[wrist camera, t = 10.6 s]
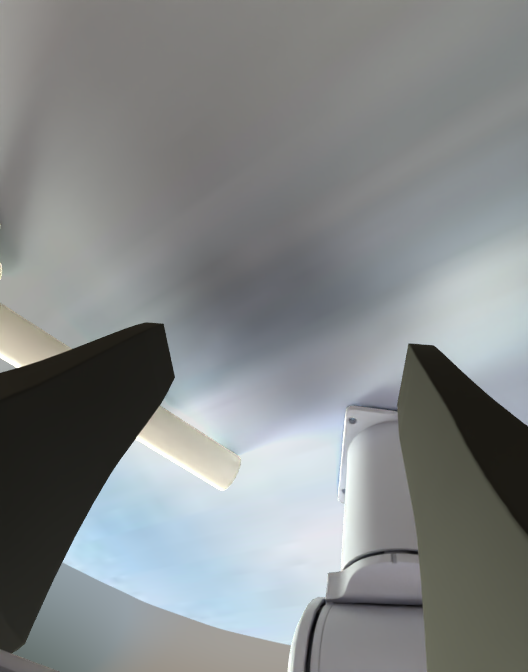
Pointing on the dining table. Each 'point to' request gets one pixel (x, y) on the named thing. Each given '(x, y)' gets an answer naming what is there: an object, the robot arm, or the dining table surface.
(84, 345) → the robot arm
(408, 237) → the dining table surface
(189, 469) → the paper towel holder
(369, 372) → the dining table surface
